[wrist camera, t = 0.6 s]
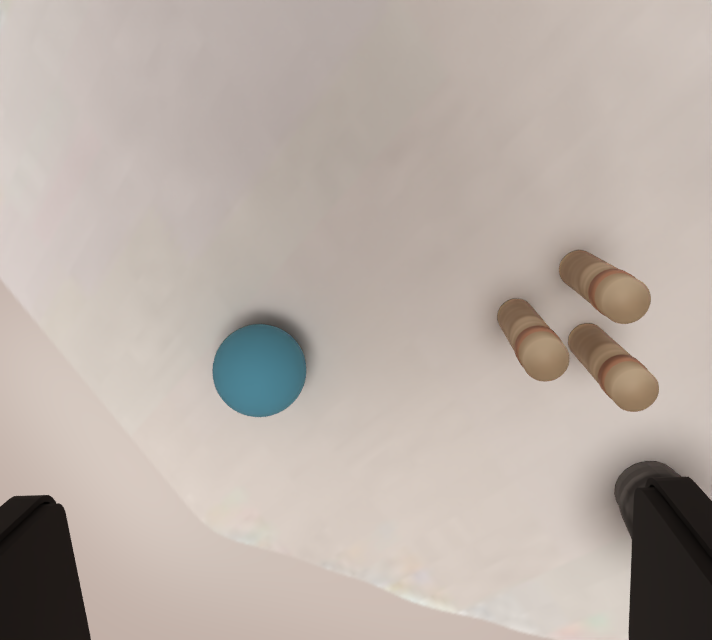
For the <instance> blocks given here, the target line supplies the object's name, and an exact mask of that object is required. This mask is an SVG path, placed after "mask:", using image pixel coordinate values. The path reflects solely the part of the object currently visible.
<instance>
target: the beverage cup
mask: <svg viewBox="0 0 712 640" xmlns="http://www.w3.org/2000/svg"><path fill="white" fill-rule="evenodd" d="M659 477H681V476H680V475H678V474H677V473H675V471H674V470H673V469H671V468H670V467H668V466H667V465H666V464H663V463H659V462H656V461H645V462H641V463H637V464H634V465H633V466H631V467H629V468H627V469H626V470H625V471H624V472H623V473H622V474H621V475H620V476H619V478H618V481H617V483H616V485H615V497H616V501H617V503H618V505H619V508H620V511H621V515H622V518H623V520H624V522H625V524H626V527H627V529H628V531H629V533H630V536H631V538H632V532H633V505H634V492H635V489H636V488H638V487H645V485H646V482H647V480H648V479H649V478H659Z"/></svg>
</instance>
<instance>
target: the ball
mask: <svg viewBox="0 0 712 640" xmlns="http://www.w3.org/2000/svg"><path fill="white" fill-rule="evenodd" d="M305 378H306V362H305V358H304V354H303V352H302V350H301V348H300V346H299V345H298V343H297V342H296V341H295V339H294V338H293V337H291V336H290V335H289V334H288V333H287V332H285V331H283V330H282V329H280V328H277V327H274V326H271V325H265V324H254V325H249V326H245V327H243V328H240V329H238V330H236V331H235V332H233V333H232V334H231V335H229V336H228V337H227V338H226V339H225V340H224V341H223V343H222V344H221V345H220V347H219V349H218V350H217V353H216V355H215V358H214V363H213V380H214V384H215V387H216V390H217V392H218V394H219V395H220V397H221V398H222V399H223V401H224V402H225V403H226V404H227V405H228V406H229V407H231V408H232V409H233V410H235V411H237V412H239V413H241V414H244V415H247V416H252V417H266V416H271V415H274V414H277V413H279V412H281V411H283V410H284V409H286V408H287V407H289V406H290V405H291V404H292V403H293V402H294V401H295V400H296V398H297V397H298V395H299V394H300V392H301V390H302V388H303V386H304V382H305Z"/></svg>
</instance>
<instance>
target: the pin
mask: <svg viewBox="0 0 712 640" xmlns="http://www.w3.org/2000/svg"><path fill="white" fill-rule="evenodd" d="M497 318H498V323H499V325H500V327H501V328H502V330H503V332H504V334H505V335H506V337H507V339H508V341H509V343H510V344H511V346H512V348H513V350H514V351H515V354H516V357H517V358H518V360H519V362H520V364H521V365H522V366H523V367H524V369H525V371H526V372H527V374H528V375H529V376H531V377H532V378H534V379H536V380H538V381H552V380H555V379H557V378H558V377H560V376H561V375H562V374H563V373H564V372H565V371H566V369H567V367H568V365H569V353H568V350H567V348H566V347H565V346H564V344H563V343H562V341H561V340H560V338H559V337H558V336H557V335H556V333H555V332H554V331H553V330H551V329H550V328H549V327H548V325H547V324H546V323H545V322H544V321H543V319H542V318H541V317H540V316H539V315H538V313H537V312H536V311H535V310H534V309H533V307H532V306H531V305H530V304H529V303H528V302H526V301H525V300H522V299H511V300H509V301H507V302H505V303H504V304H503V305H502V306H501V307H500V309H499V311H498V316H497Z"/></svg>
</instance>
